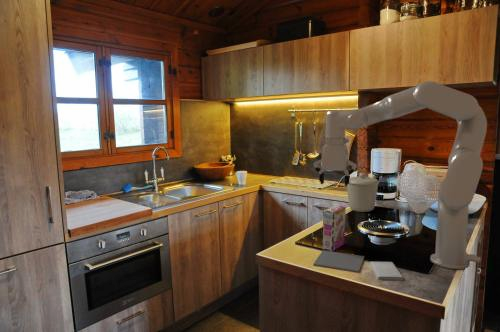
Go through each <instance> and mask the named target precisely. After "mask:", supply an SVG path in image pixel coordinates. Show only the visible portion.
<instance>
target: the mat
mask: <svg viewBox="0 0 500 332" xmlns="http://www.w3.org/2000/svg"><path fill="white" fill-rule="evenodd" d="M364 259H365V255H359V254H351V253H344V252H338V251H337V252H336V251H333V252H331V251H327V250H324V249H322V251H321V252H320V254H319V255H318V256H317V258H316V260H315V261H314V262H313V266H316V267H321V268H328V269H334V270H341V271H348V272H353V273H360V270H361V267H362V264H363V262H364Z"/></svg>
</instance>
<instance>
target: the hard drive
mask: <svg viewBox="0 0 500 332" xmlns="http://www.w3.org/2000/svg"><path fill="white" fill-rule="evenodd" d="M369 266H370V268H371V269H372V271H373V274H374V275H375V277H376V279H377V280H382V281H383V280H384V281H385V280H386V281H388V280H389V281H404V276H403V274H401V273H400V271H399V270H398V268H397V266H396V265H395V264H394V262H392V261H369Z"/></svg>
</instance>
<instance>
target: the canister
mask: <svg viewBox="0 0 500 332" xmlns="http://www.w3.org/2000/svg"><path fill="white" fill-rule="evenodd" d="M379 184H380V181H379V180H378V179H377V178H374V177H372V176H371V177H370V176H366V173H365V172H360V173H359V174H358V176H351V177H350V179H349V184H348V185H347V186H346V190H347V201H348V207H349V208H350V209H351V210H352V211H355V212H360V213H365V212H367V213H368V212H371V211H373V210H374V209H375V207H376V201H377V194H378V187H379V186H378V185H379Z"/></svg>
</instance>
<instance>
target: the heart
mask: <svg viewBox="0 0 500 332" xmlns="http://www.w3.org/2000/svg"><path fill="white" fill-rule="evenodd" d="M442 181H443V180H442V179H441V178H439V177H438V176H436V175H433V174H423V173H421V172H419V171H417V170H406V171H403V172H402V173H400V174H399V175H398V177H397V179H396V187H397V189H398V192H399V193H400V194H401V197H403V198H404V199H405V201H406V202H407V203H408V205H409V207H410V208H411V210H412V211H413V212H414V213H416V214H418V215H421V214H423V213H424V212H426V211H427V210H428V209H429V208H431V207H432V206H433V205H434V204H436V203H438V189H439V185H440V183H441V182H442Z"/></svg>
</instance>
